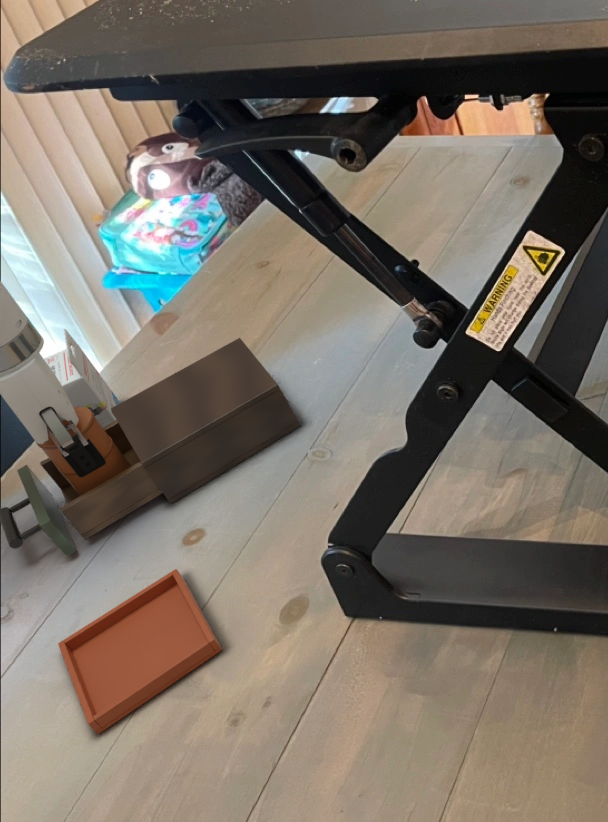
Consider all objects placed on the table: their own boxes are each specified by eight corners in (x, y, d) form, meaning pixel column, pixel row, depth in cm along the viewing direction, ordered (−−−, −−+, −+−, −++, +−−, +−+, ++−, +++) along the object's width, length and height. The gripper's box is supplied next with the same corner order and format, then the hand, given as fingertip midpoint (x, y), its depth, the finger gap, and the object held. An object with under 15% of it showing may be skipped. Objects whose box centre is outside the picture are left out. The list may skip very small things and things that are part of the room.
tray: (98, 734, 107) (88, 724, 106) (67, 653, 116) (57, 643, 115) (222, 649, 113) (214, 639, 112) (184, 579, 122) (176, 568, 121)
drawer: (30, 578, 125) (2, 547, 121) (8, 519, 133) (-19, 489, 129) (199, 477, 134) (178, 445, 130) (169, 428, 142) (147, 397, 138)
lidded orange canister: (90, 516, 130) (41, 455, 123) (77, 488, 134) (28, 428, 127) (143, 484, 132) (98, 423, 126) (129, 458, 137) (84, 398, 130)
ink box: (85, 420, 148) (26, 342, 139) (122, 403, 149) (65, 325, 140) (90, 455, 141) (29, 376, 132) (129, 437, 143) (70, 358, 134)
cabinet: (171, 504, 132) (141, 463, 127) (139, 448, 141) (110, 408, 136) (301, 425, 139) (277, 384, 135) (263, 377, 149) (239, 337, 144)
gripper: (-47, 331, 123) (38, 437, 134) (-20, 400, 111) (71, 510, 122) (20, 298, 126) (98, 404, 137) (53, 362, 114) (136, 472, 125)
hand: (85, 453), depth 129 cm, fingers closed on lidded orange canister, 6 cm apart
